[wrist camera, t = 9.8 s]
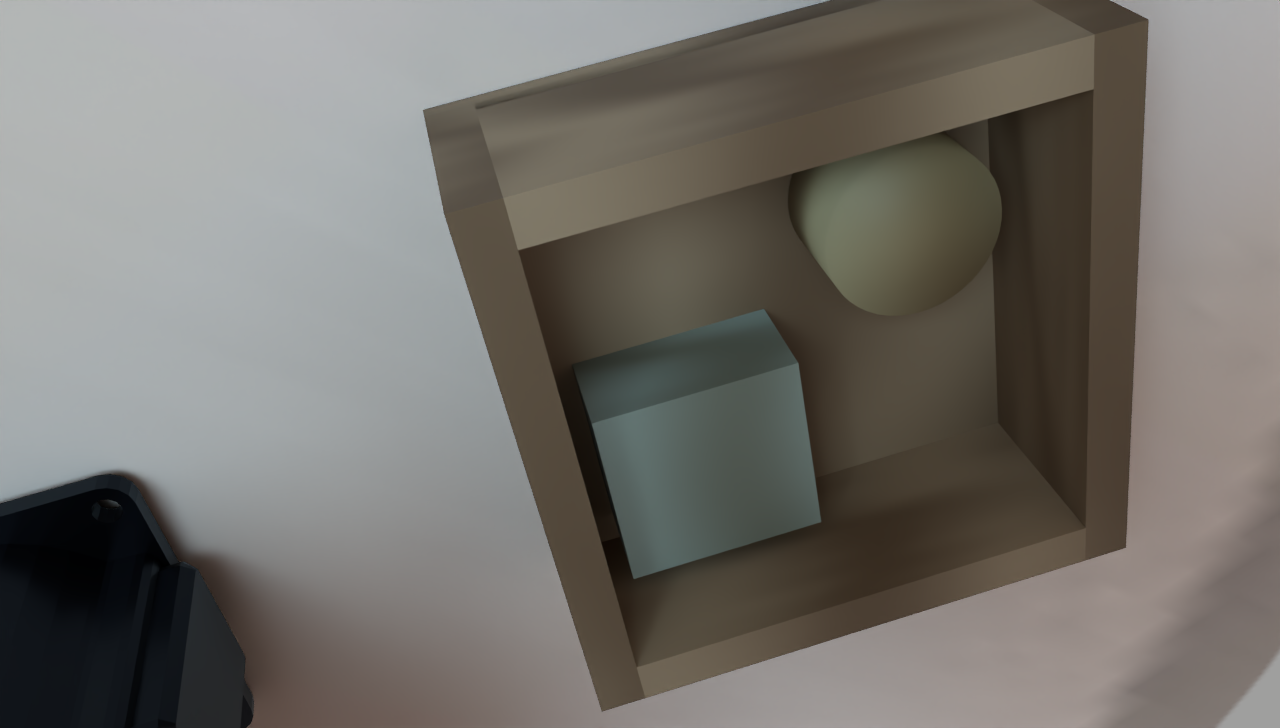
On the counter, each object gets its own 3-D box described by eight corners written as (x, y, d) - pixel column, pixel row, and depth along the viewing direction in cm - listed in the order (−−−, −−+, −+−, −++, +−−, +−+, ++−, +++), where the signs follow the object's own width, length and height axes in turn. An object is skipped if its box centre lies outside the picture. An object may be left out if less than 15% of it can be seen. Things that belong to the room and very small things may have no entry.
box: (564, 564, 25) (602, 711, 22) (423, 109, 19) (444, 214, 16) (1021, 426, 26) (1125, 547, 22) (1011, -49, 20) (1148, 20, 17)
